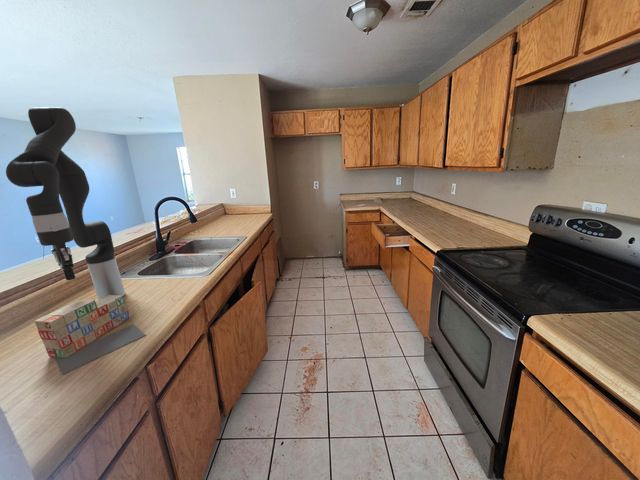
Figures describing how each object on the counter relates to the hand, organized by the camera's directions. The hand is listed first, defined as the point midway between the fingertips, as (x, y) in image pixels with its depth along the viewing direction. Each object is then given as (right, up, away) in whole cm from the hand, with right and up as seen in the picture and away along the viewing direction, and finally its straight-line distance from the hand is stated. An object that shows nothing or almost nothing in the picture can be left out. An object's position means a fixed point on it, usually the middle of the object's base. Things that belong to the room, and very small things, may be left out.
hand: (70, 279), depth 86 cm
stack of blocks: (+8, -19, 0) cm, 20 cm away
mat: (+15, -20, -6) cm, 26 cm away
